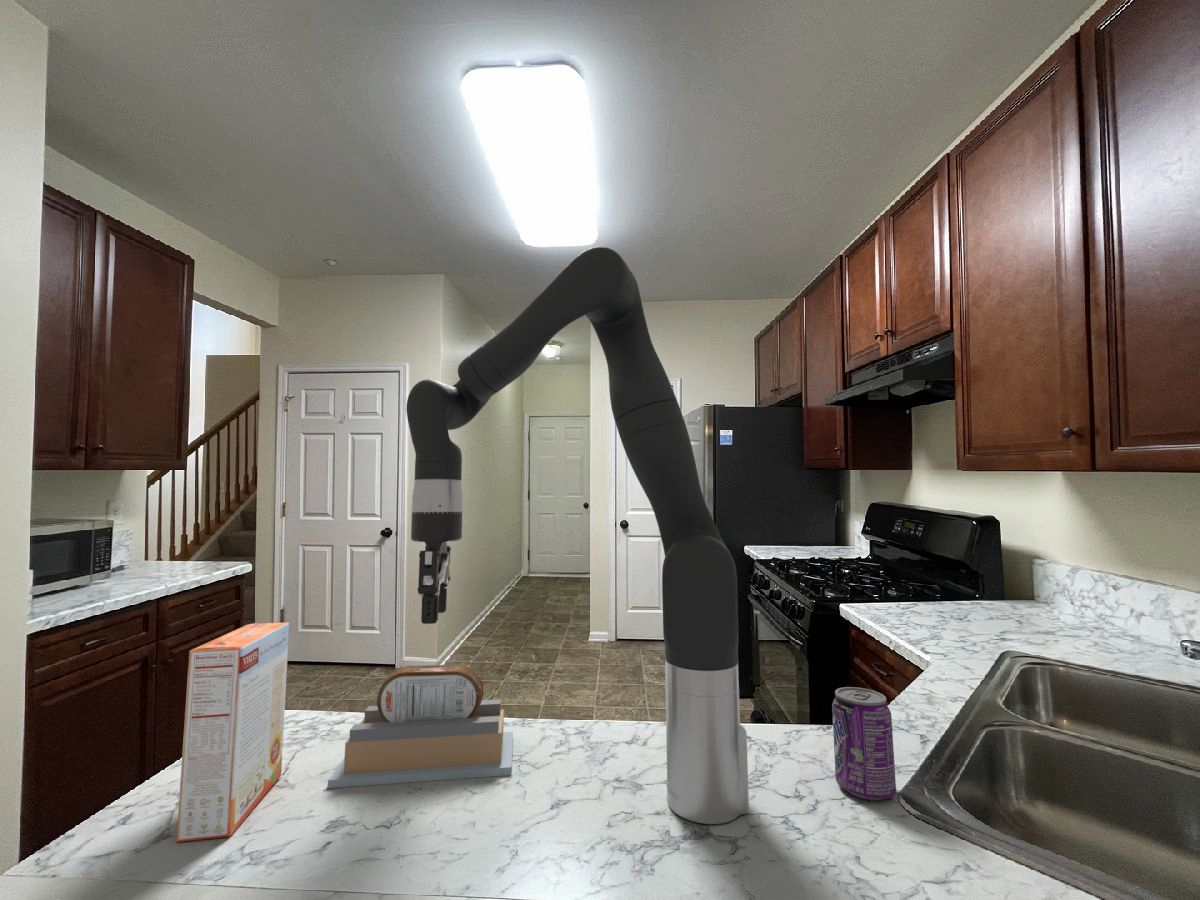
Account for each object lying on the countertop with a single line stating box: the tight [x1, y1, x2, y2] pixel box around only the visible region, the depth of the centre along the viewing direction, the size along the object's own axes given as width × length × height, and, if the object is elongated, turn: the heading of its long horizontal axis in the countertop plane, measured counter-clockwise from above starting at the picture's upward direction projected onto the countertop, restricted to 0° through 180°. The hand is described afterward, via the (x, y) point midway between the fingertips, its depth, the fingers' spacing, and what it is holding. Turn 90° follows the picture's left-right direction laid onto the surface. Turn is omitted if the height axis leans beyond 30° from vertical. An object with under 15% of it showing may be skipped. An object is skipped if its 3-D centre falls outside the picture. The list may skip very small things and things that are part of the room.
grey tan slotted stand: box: [327, 699, 514, 789], centre depth 77 cm, size 24×12×7 cm, turn 98°
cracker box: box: [176, 622, 290, 843], centre depth 66 cm, size 14×6×21 cm, turn 10°
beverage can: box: [831, 686, 897, 801], centre depth 69 cm, size 7×7×12 cm
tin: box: [376, 664, 484, 722], centre depth 78 cm, size 15×3×8 cm, turn 97°
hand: (434, 617), depth 79 cm, fingers open, 8 cm apart
